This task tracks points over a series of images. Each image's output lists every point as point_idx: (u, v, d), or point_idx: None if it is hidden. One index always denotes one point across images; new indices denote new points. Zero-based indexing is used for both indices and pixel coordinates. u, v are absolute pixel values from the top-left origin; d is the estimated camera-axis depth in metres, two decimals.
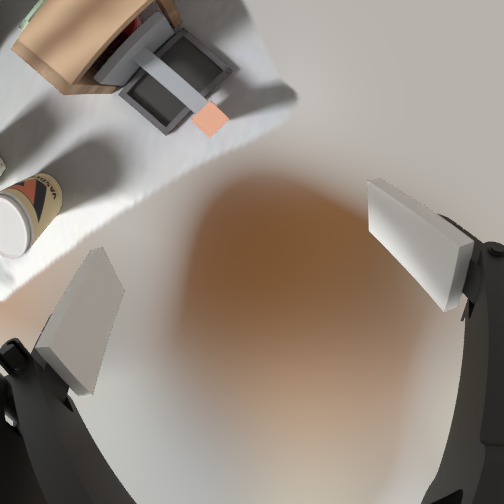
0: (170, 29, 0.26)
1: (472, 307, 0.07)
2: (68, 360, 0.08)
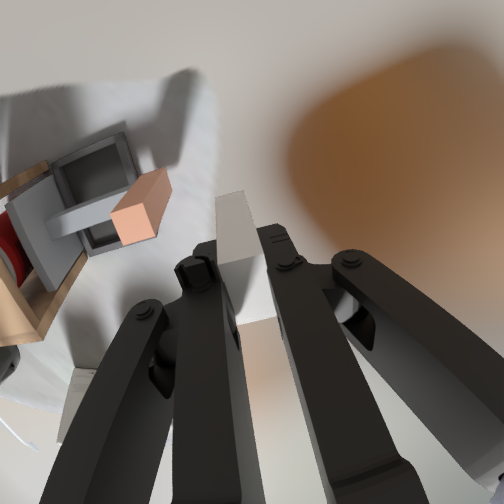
0: (41, 183, 0.23)
1: None
2: None
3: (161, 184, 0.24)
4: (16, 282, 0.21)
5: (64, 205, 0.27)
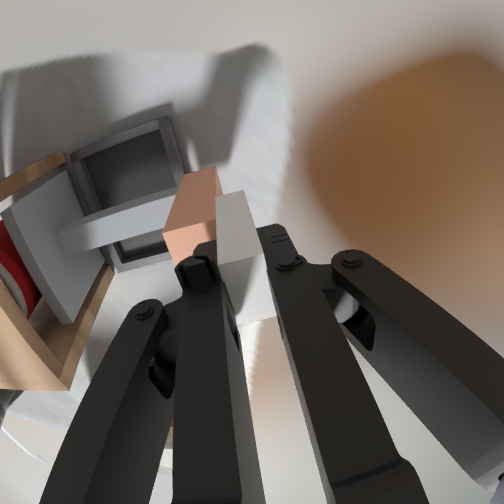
0: (50, 183, 0.18)
1: None
2: None
3: (218, 188, 0.19)
4: (26, 311, 0.16)
5: (78, 211, 0.22)
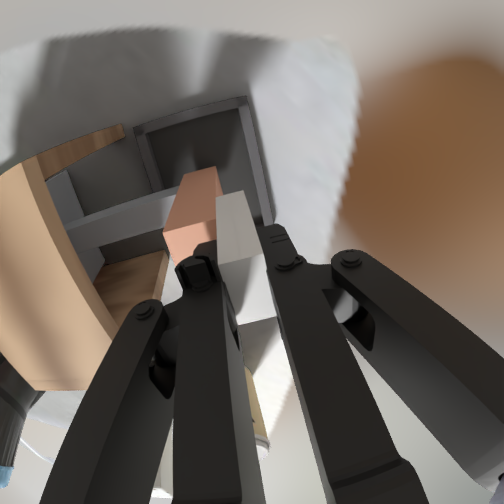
0: (50, 182, 0.18)
1: None
2: None
3: (218, 188, 0.19)
4: None
5: (78, 211, 0.23)
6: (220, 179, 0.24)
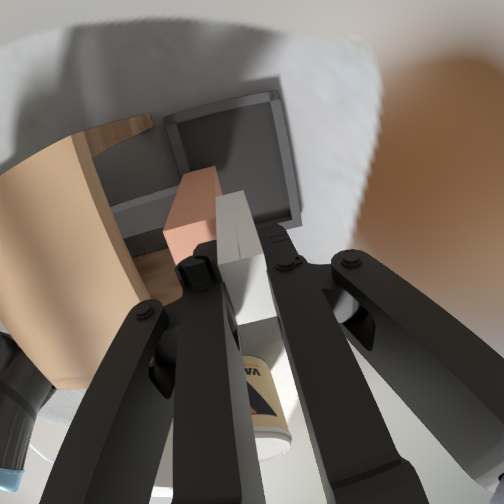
0: None
1: None
2: None
3: (218, 188, 0.19)
4: None
5: None
6: (249, 171, 0.24)
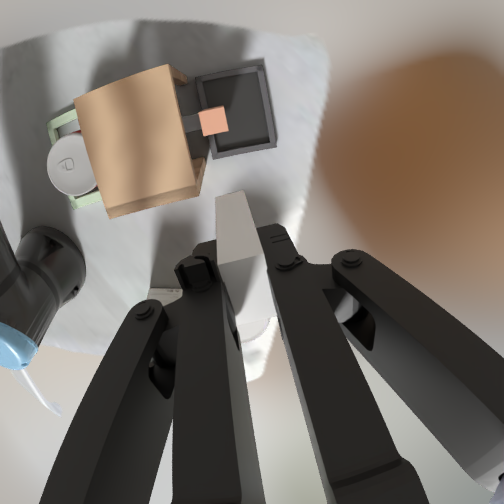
0: None
1: None
2: None
3: None
4: None
5: None
6: (244, 112, 0.37)
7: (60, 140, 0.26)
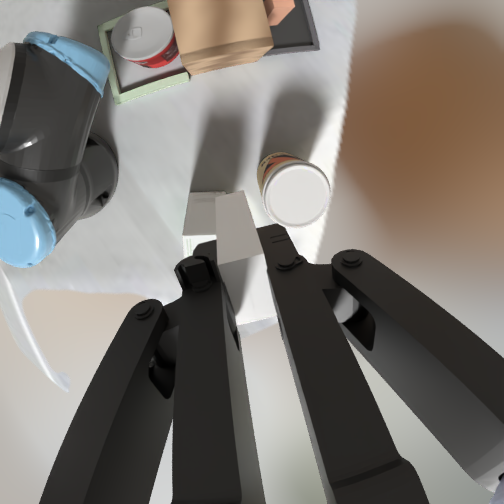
0: None
1: None
2: None
3: None
4: (171, 38, 0.26)
5: None
6: (290, 21, 0.34)
7: (131, 12, 0.23)
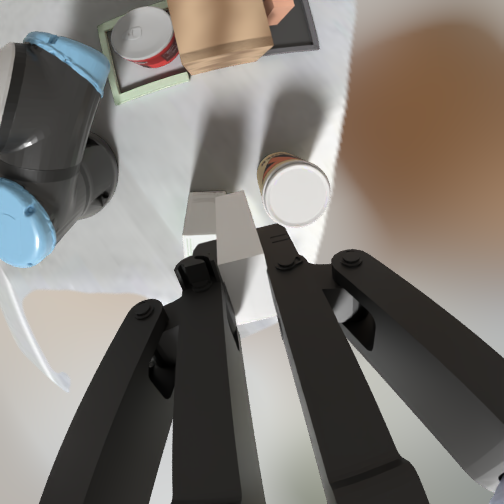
0: None
1: None
2: None
3: None
4: (171, 38, 0.26)
5: None
6: (289, 20, 0.34)
7: (131, 12, 0.23)
